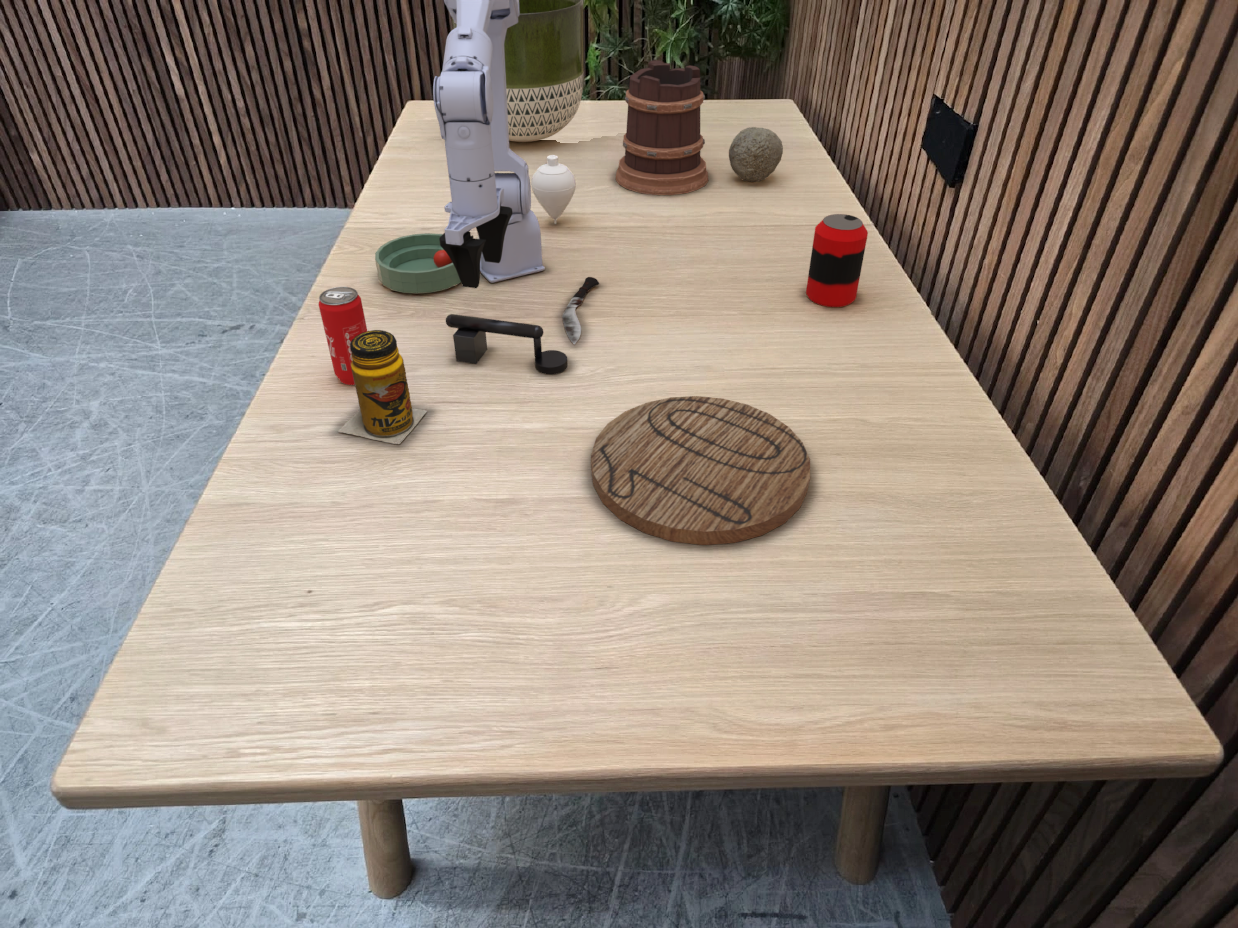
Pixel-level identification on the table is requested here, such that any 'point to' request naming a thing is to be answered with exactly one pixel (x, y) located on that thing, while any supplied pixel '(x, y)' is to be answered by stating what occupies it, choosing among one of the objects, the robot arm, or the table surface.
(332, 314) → the beverage can
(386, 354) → the condiment
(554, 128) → the planter
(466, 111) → the robot arm
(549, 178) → the spinning top
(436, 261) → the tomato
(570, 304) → the knife
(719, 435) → the trivet
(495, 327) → the crank handle
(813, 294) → the soda can
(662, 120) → the brown wooden barrel
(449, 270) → the bowl
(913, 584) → the table surface
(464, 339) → the dark grey cube
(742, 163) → the decorative stone
